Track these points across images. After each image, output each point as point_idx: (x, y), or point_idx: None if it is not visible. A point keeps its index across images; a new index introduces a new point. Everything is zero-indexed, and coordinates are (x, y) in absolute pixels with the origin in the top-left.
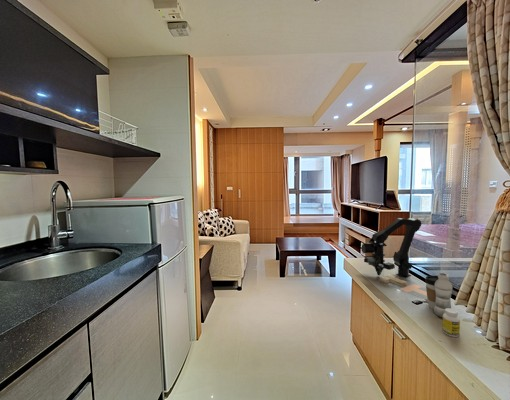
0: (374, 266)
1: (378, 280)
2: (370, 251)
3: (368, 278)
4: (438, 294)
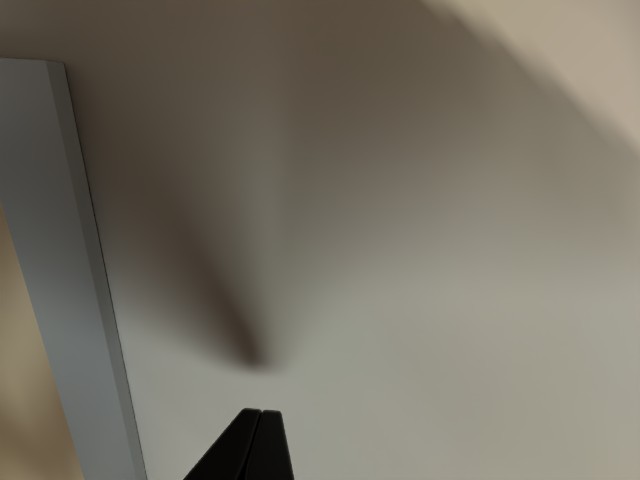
0: None
1: (26, 115)
2: None
3: (385, 30)
4: None
